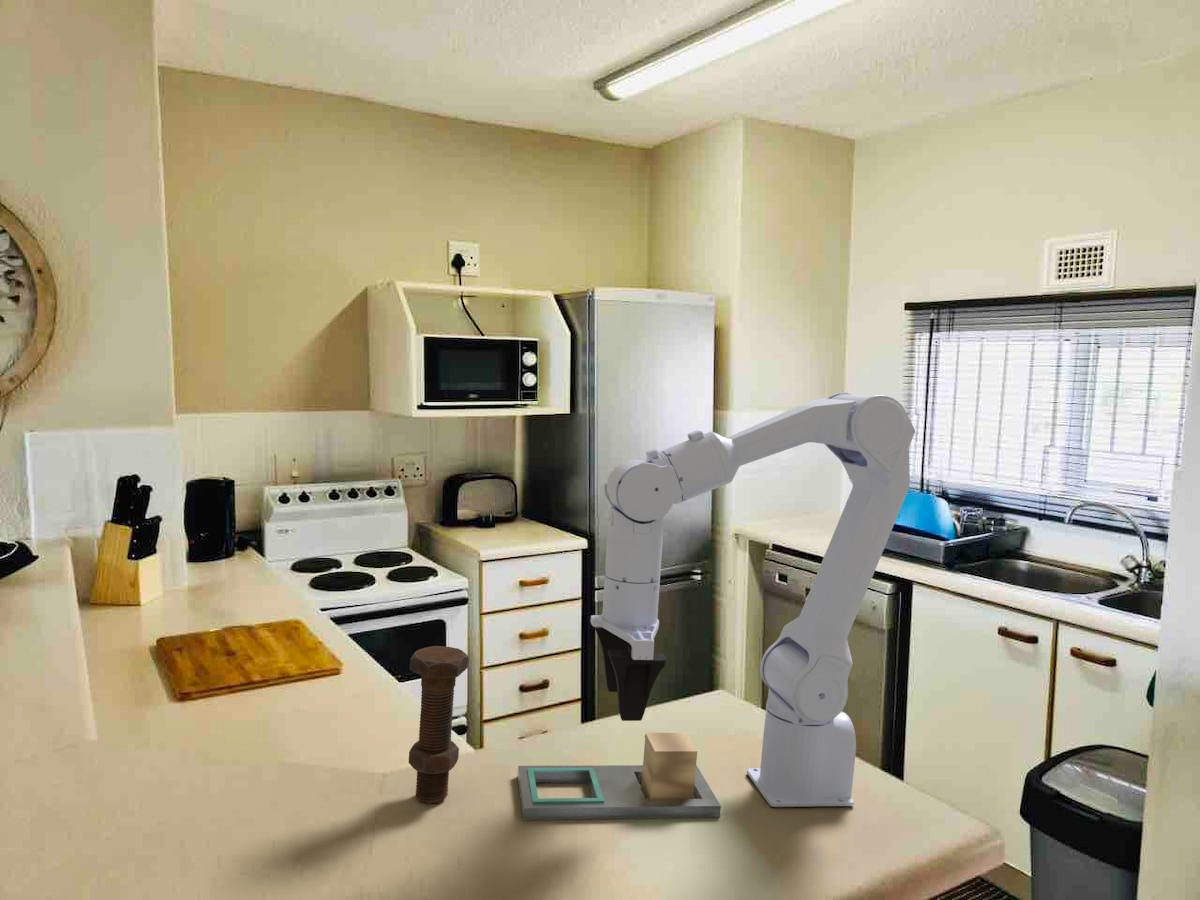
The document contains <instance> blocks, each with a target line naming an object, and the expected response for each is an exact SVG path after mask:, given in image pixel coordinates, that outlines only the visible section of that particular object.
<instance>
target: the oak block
mask: <svg viewBox="0 0 1200 900" xmlns="http://www.w3.org/2000/svg"><path fill="white" fill-rule="evenodd" d="M642 760H643V761H642V765H643V771H642V782H640V783H641V784H640V787H641V786H642V787H641V789H642V792H643V794H644V796H645V799H694V784H695V773H696V765H697V760H698V750H697V749H696V747H695V746H694V744H693V742H692V740H691V739H690V737H689V735H688V734H687V732H645V737H644V748H643V759H642Z"/></svg>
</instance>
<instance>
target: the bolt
mask: <svg viewBox="0 0 1200 900" xmlns="http://www.w3.org/2000/svg"><path fill="white" fill-rule="evenodd" d="M469 658H470V657H469V655H468V654H467V653H466V652H465V651H464V650H462V649H460V648H457V647H452V646H443V645H433V646H427V647H423V648H420V649H417V650H415V652H414V653H413V654H412V656H411V657H410V659H409V671H411V672H413V673H415V674H417V675H419V676H421V677H420V678H421V679H420V680H421V681H420V683H421V684H420V685H421V691H420V694H421V696H420V700H421V701H420V713H419V714H420V717H419V719H420V720H419V731H418V732H419V733H418V741H417V740H416V742H414V744H413V745H412V746H411V748H410V750H409V752H408V764H409V765H410V766H411V767H412V768H413V769H414V770H415V771H416V783H415V784H416V785H415V786H416V787H415V798H416V799H417V800H419V802H422V803H427V804H437V803H441V802H443V801H444V800H445V799H446V798H447V796H448V795H449V794H448V793H449V776H450V773H449V772H450V771H451V770H452V769H453V768H454V767H455V766H456V765H457V762H458V760H459V753H460V752H459V751H460V748H459V747H458V745H457V744H456V743H455V742H454V741H452V727H453V725H452V724H453V714H454V713H453V712H454V697H455V696H454V695H455V693H454V692H455V687H456V681H457V680H456V679H457V678H458V677H459V676H460V675H461V674H462V673H464V672H465V671H466V670H468V668H469Z"/></svg>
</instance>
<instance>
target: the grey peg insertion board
mask: <svg viewBox="0 0 1200 900" xmlns="http://www.w3.org/2000/svg"><path fill="white" fill-rule="evenodd" d="M642 771H643V764H642V765H640V764H639V765H637V764H636V765H632V764H631V765H629V764H628V765H616V764H615V765H609V764H607V765H603V764H602V765H518V767H517V782H518V789H519V796H520V805H521V810H522V811H521V813H522V819H523V821H543V820H544V821H545V820H546V821H549V820H550V821H553V820H554V821H555V820H557V821H558V820H559V821H560V820H562V821H565V820H566V821H567V820H616V819H617V820H619V819H622V820H623V819H628V820H629V819H630V820H631V819H687V818H688V819H691V818H693V819H696V818H697V819H699V818H700V819H701V818H703V819H704V818H721V807H722V806H721V804H720V802H719V800H718V799H717V797H716V795H715V794H714V792H713V790H712V788H711V786H710V785H709V783H708V782H707V780H706V779H705V777H704V775H703V774H702V772H701V770H700V768H699V767H698V765H697V764H696V773H695V784H694V796H693V799H647V798H646V796H645V794H644V791H643V789H642V787H641V784H640V783H642ZM540 782H545V783H544V784H559V783H560V784H567V783H568V784H572V783H573V784H577V783H578V784H581V783H582V784H583V783H587V784H588V787H589V791H590V794H591V797H576V798H575V797H570V798H569V797H568V798H567V797H565V798H562V797H560V798H558V797H557V798H555V797H554V798H550V797H549V798H547V797H546V798H539V795H538V794H539V793H538V789H537V784H541V783H540ZM548 782H549V783H548Z"/></svg>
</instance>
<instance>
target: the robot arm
mask: <svg viewBox="0 0 1200 900" xmlns="http://www.w3.org/2000/svg"><path fill="white" fill-rule="evenodd" d="M915 433H916V429H915V427H914V425H913V423H912V421H911V419H910V417H909V415H908V413H907V411H906V410H905V408H904V407H903V405H902V404H901V403H900V401H898V400H897V399H895V398H894V397H892V396H889V395H885V394H878V395H877V394H875V395H861V394H851V393H849V392H837V393H833V394H831V395H829V396H827V397H826V398H824V397H823V398H822V397H820V398H816V399H812V400H810V401H807V402H804V403H802V404H800V405H797V406H796V407H792V408H791V409H788V410H787V411H784V412H781V413H780V414H778V415H775V416H772V417H769V419H766V420H764V421H762V422H759V423H757V424H754V425H753V426H751V427H747V428H746V429H744V430H741V431H738V432H737V433H735V434H733V435H730V436H728V437H724V436H722V435H720V434H718V433H717V432H714V431H709V432H705V433H704V432H703V431H702V430H699V429H696V430H693V431H691V432H689V433H687V438H688V439H687V440H686V441H682V442H680V443H677V444H675V445H673V446H669V447H667V448H664V449H663V450H659V451H658V450H657V449H655V448H652V449H649V450H648V451H646V452H645V455H646V458H645V459H646V461H643V460H641V459H628V460H624V461H622V462H620V463H619V464H617V465H616V466H615V467H614V468H613V470H611V471H610V473H609V475H608V477H607V482H606V483H604V485H603V491H604V495H605V498H606V500H607V501H608V503H609V504H610V507H609V509H610V510H609V511H610V512H609V518H608V519H609V520H608V521H609V523H608V524H609V526H608V530H607V536H606V537H607V538H606V551H605V553H606V554H605V569H604V570H605V571H604V585H603V600H602V613H601V614H597V615H595V614H594V615H593V614H592V615H590V625H591V626H592V627H594V629H595V632H596V636H597V637H598V640H599V644H600V647H601V652H602V658H603V666H604V667H603V669H604V674H605V675H604V676H605V682H606V686H607V687H606V688H607V691H608V692H611V693H613V692H614V693H615V692H617V705H618V713H619V717H620V719H621V721H622V722H623V721H625V722H639V721H640V722H641V721H642V720H643V717H644V714H645V711H646V709H647V706H648V701H649V698H650V694H651V693H652V689H653V687H654V684H655V683H656V680H657V678H658V676H659V675H660V673H661V671H662V670H663V669H664V668H665V666H666V663H667V656H665V654H664V653H663V652H655V637H656V635H657V632H658V630H659V627H660V621H659V619H658V614H659V602H660V601H659V598H660V586H661V584H660V583H661V571H662V570H661V569H662V558H663V557H662V555H663V544H664V543H663V539H664V535H663V533H664V532H663V529H664V517H665V516H666V515H667V514H668V513H669V511H670V510H671V509H672V506H673V505H674V504H675V505H678V504H681V503H683V502H686V501H689V500H691V499H693V498H696V497H698V496H700V495H701V496H702V495H703V494H706V493H708V492H711V491H714V490H715V489H718V488H721V487H723V486H725V485H728V484H730V483H732V482H733V480H734V478H735V476H736V474H737V473H738V471H739V468H740V467H741V466H744V465H747V464H749V463H753V462H756V461H758V460H761V459H764V458H767V457H770V456H772V455H773V456H774V455H775V454H776V455H777V454H779V453H781V452H784V451H787V450H790V449H793V448H796V447H799V446H801V445H804V444H808V443H815V444H823V445H824V446H825V447H826V448H827V449H828V450H829V451H830V452H831V453H832V454H833V455H834V456H835V457H836V458H837V459H838V460H839V461H840V462H841V464H842V466H843V467H844V470H845V471H846V475H848V478H849V479H850V482H851V484H852V488H851V490H850V493H849V494H848V495H849V496H848V497H847V500H846V502H845V505H844V508H843V510H842V512H841V515H840V517H839V520H838V522H837V524H836V527H835V529H834V532H833V534H832V537H831V538H830V539H831V540H830V541H829V544H828V546H827V549H826V552H825V554H824V556H823V558H822V561H821V563H820V565H819V568H818V570H817V574H816V575H815V577H814V581H813V583H812V585H811V587H810V590H809V593H808V595H807V596H806V597H807V598H806V599H805V602H804V605H803V607H802V609H801V612H800V614H799V616H798V617H796V618H795V619H793V620H792V621H790V622H788V623H787V624H785V625H784V626H783V628H782V630H781V632H780V635H779V636H778V638H777V639H776V640H775V642H774V643H772V644H771V645H770V646H769V647H768V648H767V649H766V650H765V652H764V654H763V656H762V658H761V660H760V661H761V662H760V669H759V670H760V675H761V679H762V681H763V683H764V684H765V685H766V686H767V687H768V692H767V693H768V694H767V699H766V707H765V716H764V717H765V718H764V727H763V736H762V749H761V757H760V758H761V760H760V767H750V768H747V769H746V774H747V775H748V776H749V778H750V779H751V781H752V782H753V784H754V785H755V786H756V788H757V790H758V791H759V792H760V794H761V796H763V798H764V799H765V801H766V802H767V804H768V805H769V806H770V807H773V808H785V807H787V808H789V807H793V808H795V807H799V808H800V807H803V808H804V807H853V806H855V805H854V804H855V801H854V799H853V798H852V794H853V791H852V790H853V783H854V771H855V762H856V752H857V739H856V737H857V736H856V731H855V727H854V724H853V722H852V719H851V718H850V717H849V715H848V714H847V713H846V712H844V711H843V710H844V708H845V706H846V704H847V701H848V697H849V684H848V681H849V676H850V673H851V670H852V668H853V659H852V654H851V650H850V646H849V641H848V638H849V637H848V636H849V634H850V632H851V629H852V627H853V625H854V623H855V619H856V617H857V615H858V613H859V610H860V608H861V605H862V603H863V601H864V598H865V596H866V594H867V592H868V588H869V586H870V584H871V581H872V579H873V576H874V574H875V572H876V570H877V567H878V564H879V562H880V559H881V557H882V555H883V552H884V550H885V548H886V545H887V542H888V540H889V537H890V535H891V533H892V530H893V528H894V525H895V524H896V521H897V518H898V516H899V513H900V511H901V508H902V506H903V504H904V502H905V499H906V497H907V495H908V492H909V488H910V482H911V481H910V480H911V479H910V451H909V450H910V445H911V443H912V441H913V439H914V436H915Z"/></svg>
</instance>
